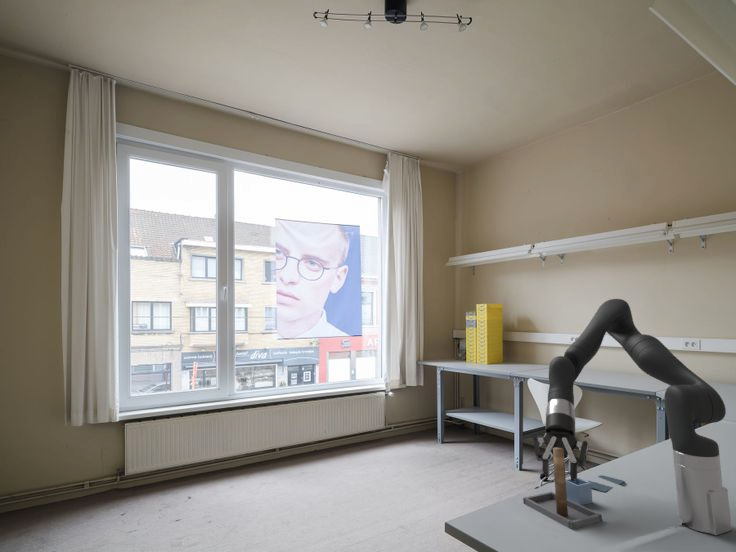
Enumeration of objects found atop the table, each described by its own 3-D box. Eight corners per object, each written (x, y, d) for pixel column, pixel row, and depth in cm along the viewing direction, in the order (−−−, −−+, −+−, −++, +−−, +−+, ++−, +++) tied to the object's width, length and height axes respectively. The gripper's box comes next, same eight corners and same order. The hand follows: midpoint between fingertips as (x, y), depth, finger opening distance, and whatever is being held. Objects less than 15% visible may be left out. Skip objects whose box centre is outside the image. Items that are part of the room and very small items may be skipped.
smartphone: (626, 480, 131) (605, 492, 121) (627, 486, 131) (606, 498, 121) (600, 474, 137) (578, 484, 127) (601, 479, 136) (579, 490, 127)
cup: (592, 506, 116) (591, 483, 116) (579, 509, 114) (577, 485, 114) (578, 499, 120) (576, 477, 121) (565, 502, 118) (563, 479, 119)
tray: (602, 525, 105) (601, 514, 105) (572, 533, 101) (571, 522, 101) (551, 500, 120) (551, 491, 120) (523, 507, 116) (523, 497, 116)
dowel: (570, 516, 108) (565, 449, 110) (561, 517, 107) (557, 450, 109) (563, 511, 110) (559, 447, 112) (554, 513, 110) (550, 447, 112)
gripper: (589, 429, 120) (592, 489, 108) (535, 424, 127) (531, 480, 115) (587, 413, 116) (589, 474, 104) (531, 409, 122) (527, 466, 111)
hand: (559, 477), depth 109 cm, fingers open, 5 cm apart
